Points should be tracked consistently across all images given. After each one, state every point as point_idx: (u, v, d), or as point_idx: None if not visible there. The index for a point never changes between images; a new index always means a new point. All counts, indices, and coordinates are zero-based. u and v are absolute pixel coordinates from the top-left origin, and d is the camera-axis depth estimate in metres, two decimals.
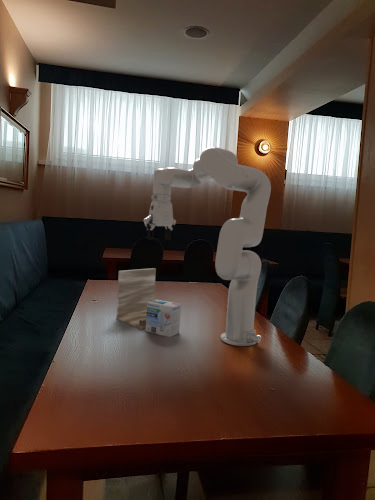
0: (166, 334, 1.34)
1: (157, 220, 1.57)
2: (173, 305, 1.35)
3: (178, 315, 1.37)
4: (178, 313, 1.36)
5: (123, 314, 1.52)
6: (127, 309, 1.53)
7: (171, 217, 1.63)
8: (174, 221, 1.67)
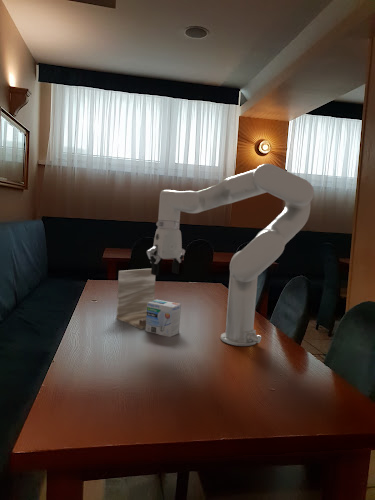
0: (166, 334, 1.34)
1: (163, 252, 1.31)
2: (173, 305, 1.35)
3: (178, 315, 1.37)
4: (178, 313, 1.36)
5: (123, 314, 1.52)
6: (127, 309, 1.53)
7: (180, 247, 1.36)
8: (183, 251, 1.41)
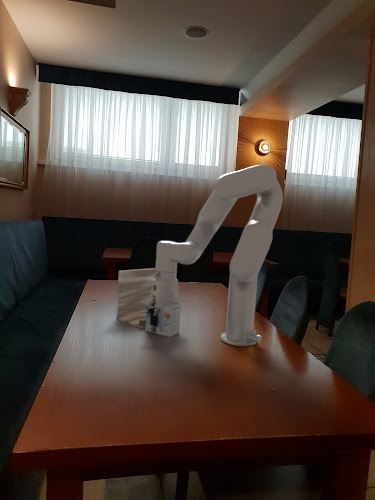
0: (166, 334, 1.34)
1: (160, 303, 1.33)
2: (173, 305, 1.35)
3: (178, 315, 1.36)
4: (178, 313, 1.36)
5: (123, 314, 1.52)
6: (127, 309, 1.53)
7: (177, 296, 1.38)
8: (179, 300, 1.42)
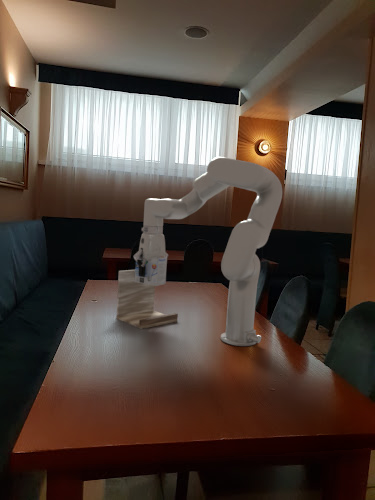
0: (153, 283, 1.46)
1: (148, 255, 1.45)
2: (159, 257, 1.47)
3: (164, 267, 1.49)
4: (164, 265, 1.49)
5: (123, 314, 1.52)
6: (127, 309, 1.53)
7: (163, 250, 1.50)
8: (166, 255, 1.54)
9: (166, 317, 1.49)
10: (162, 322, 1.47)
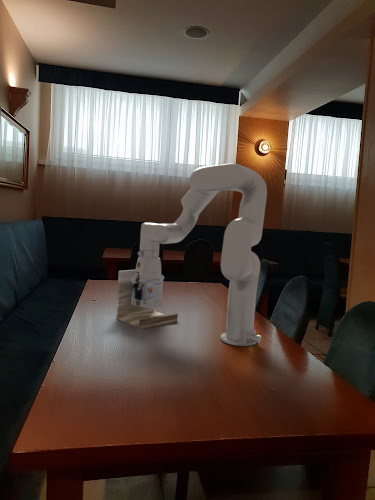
0: (149, 307, 1.48)
1: (144, 278, 1.47)
2: (155, 281, 1.49)
3: (160, 290, 1.51)
4: (160, 288, 1.50)
5: (123, 314, 1.52)
6: (127, 309, 1.53)
7: (159, 273, 1.52)
8: (162, 277, 1.56)
9: (166, 317, 1.49)
10: (162, 322, 1.47)
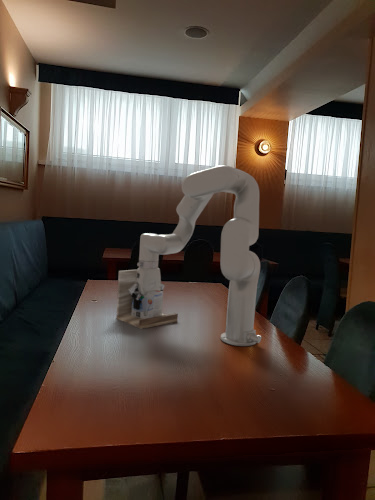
0: None
1: (143, 289, 1.47)
2: (155, 292, 1.49)
3: (160, 301, 1.51)
4: (160, 299, 1.51)
5: (123, 314, 1.52)
6: (127, 309, 1.53)
7: (159, 283, 1.52)
8: (162, 286, 1.57)
9: (166, 317, 1.49)
10: (162, 322, 1.47)
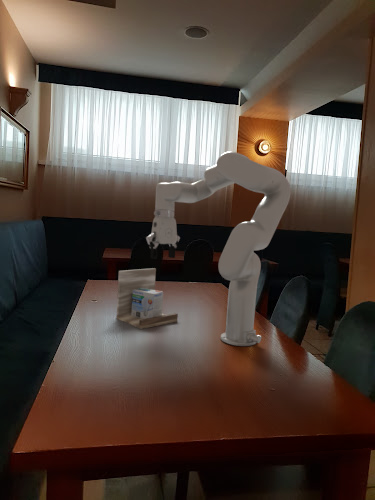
0: None
1: (161, 238, 1.47)
2: (155, 292, 1.49)
3: (160, 301, 1.51)
4: (160, 299, 1.51)
5: (123, 314, 1.52)
6: (127, 309, 1.53)
7: (175, 234, 1.53)
8: (178, 238, 1.57)
9: (166, 317, 1.49)
10: (162, 322, 1.47)
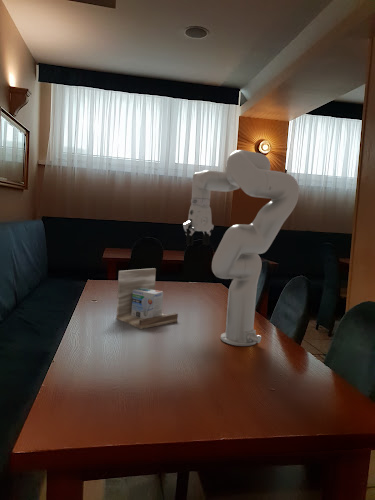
0: None
1: (197, 225, 1.53)
2: (155, 292, 1.49)
3: (160, 301, 1.51)
4: (160, 299, 1.51)
5: (123, 314, 1.52)
6: (127, 309, 1.53)
7: (210, 222, 1.58)
8: (212, 226, 1.62)
9: (166, 317, 1.49)
10: (162, 322, 1.47)
